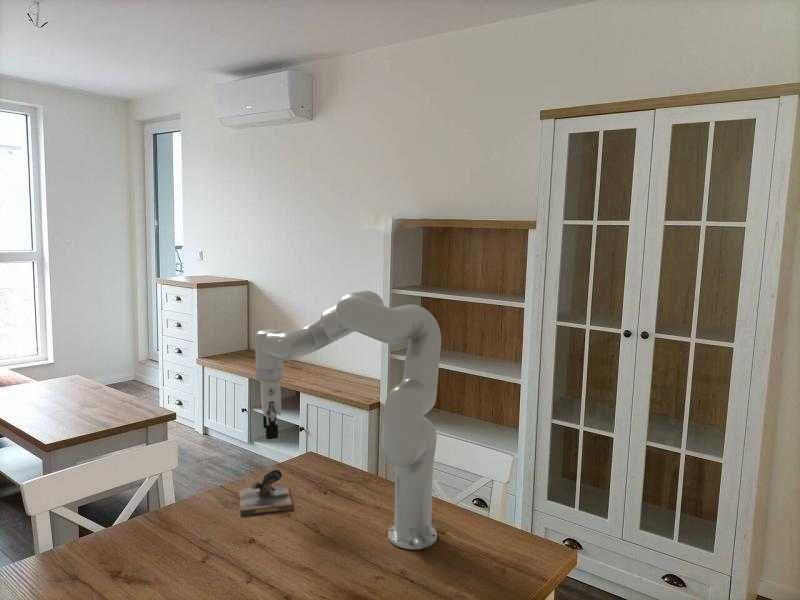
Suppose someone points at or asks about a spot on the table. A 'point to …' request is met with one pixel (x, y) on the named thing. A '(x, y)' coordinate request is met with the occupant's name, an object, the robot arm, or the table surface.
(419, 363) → the robot arm
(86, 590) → the table surface
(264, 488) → the eagle figurine
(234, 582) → the table surface
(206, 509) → the table surface
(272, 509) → the wooden picture frame
